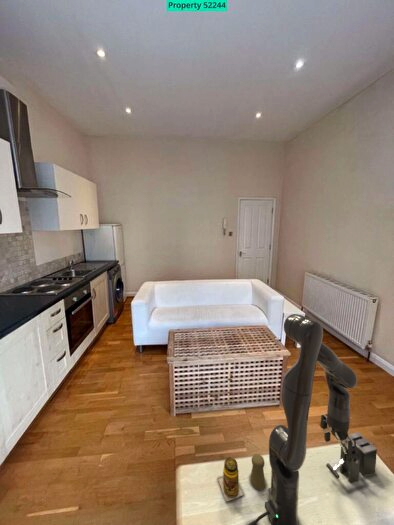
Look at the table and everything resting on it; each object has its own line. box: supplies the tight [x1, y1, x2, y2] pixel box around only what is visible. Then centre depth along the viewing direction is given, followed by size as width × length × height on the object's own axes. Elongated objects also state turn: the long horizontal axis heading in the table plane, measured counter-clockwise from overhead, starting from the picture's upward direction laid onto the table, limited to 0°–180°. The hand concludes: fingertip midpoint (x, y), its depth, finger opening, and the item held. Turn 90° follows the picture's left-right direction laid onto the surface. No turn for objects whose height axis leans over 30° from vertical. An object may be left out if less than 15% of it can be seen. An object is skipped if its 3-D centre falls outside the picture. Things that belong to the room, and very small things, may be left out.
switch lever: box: [325, 459, 346, 480], centre depth 90 cm, size 12×5×2 cm, turn 107°
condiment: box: [217, 456, 244, 502], centre depth 89 cm, size 7×8×12 cm
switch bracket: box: [339, 446, 360, 485], centre depth 91 cm, size 10×8×13 cm
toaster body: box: [348, 431, 378, 477], centre depth 96 cm, size 7×8×12 cm
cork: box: [249, 453, 266, 490], centre depth 91 cm, size 6×6×11 cm
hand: (336, 450), depth 88 cm, fingers open, 8 cm apart
